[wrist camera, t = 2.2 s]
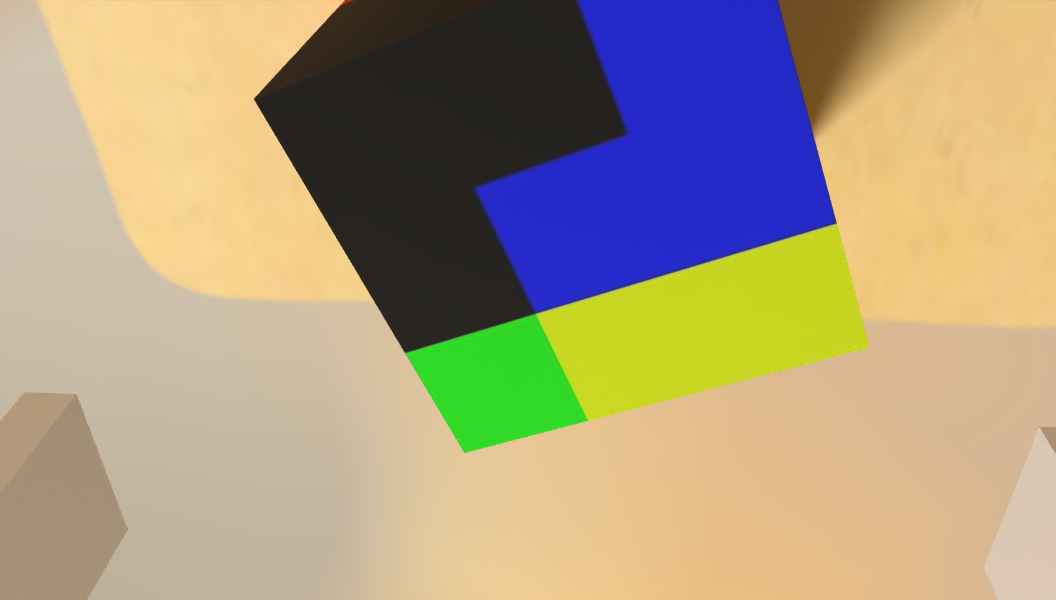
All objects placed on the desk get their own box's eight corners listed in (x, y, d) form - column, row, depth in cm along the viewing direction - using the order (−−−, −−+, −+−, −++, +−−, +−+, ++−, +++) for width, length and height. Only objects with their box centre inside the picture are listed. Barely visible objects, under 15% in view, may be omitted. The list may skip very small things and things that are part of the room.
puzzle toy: (701, -172, 23) (750, -105, 15) (794, 158, 28) (869, 347, 20) (368, -26, 26) (253, 99, 18) (505, 252, 31) (464, 453, 23)
